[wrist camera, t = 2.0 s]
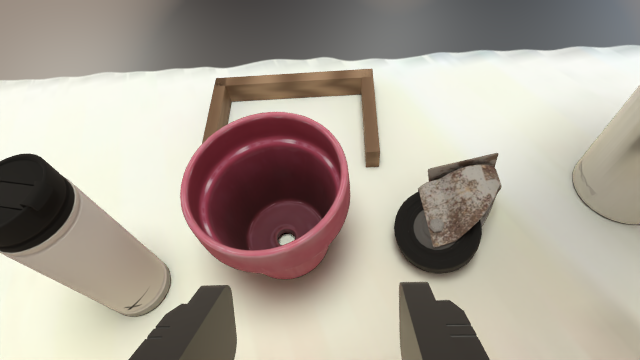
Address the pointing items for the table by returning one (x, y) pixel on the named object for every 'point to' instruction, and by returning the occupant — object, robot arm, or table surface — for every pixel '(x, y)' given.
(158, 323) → the robot arm
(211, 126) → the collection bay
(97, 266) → the travel mug
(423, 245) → the caster wheel
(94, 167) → the table surface
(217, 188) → the plant pot
